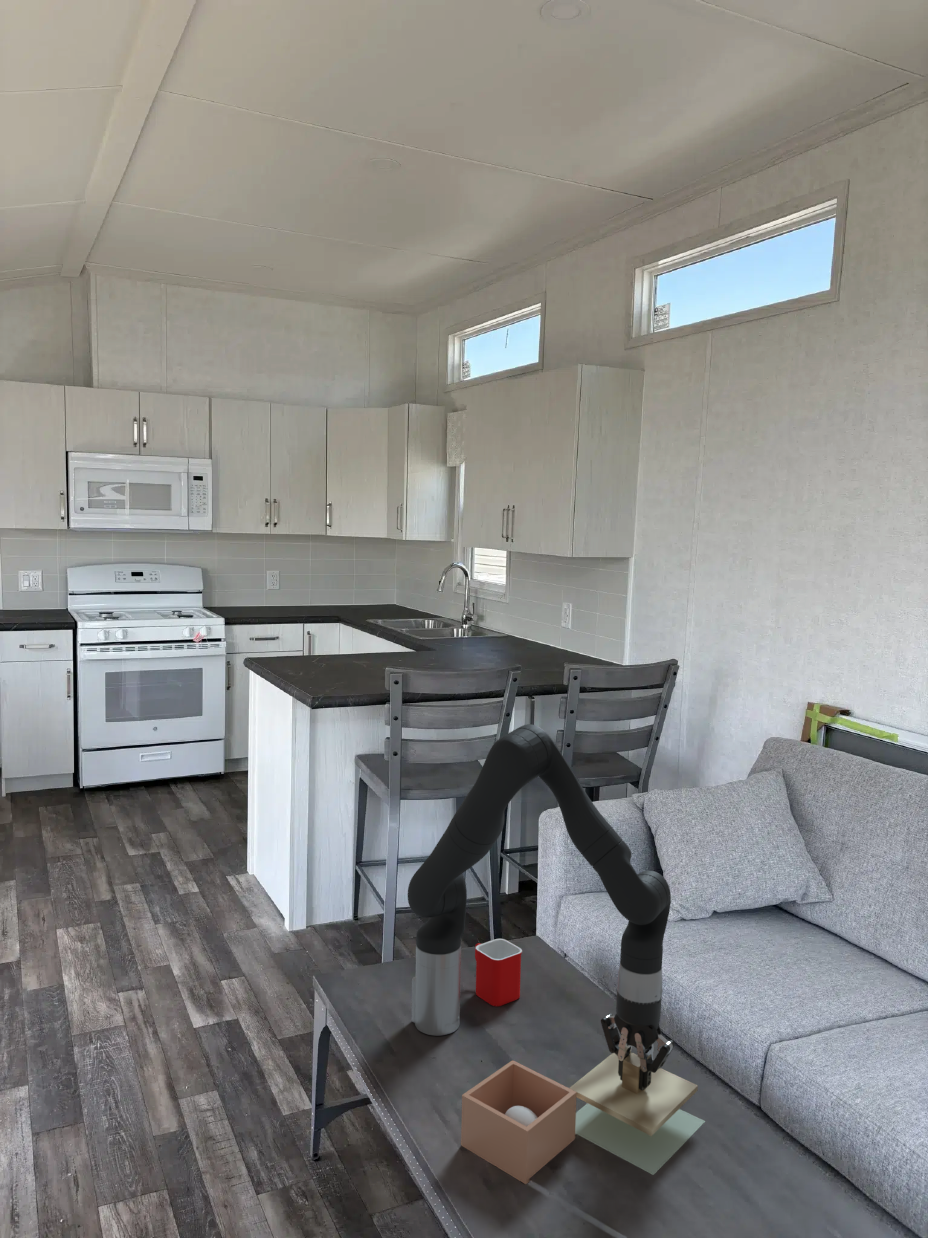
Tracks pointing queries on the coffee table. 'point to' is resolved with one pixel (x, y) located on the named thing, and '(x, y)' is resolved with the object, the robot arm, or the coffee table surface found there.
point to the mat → (636, 1136)
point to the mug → (498, 971)
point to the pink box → (508, 1138)
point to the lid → (634, 1093)
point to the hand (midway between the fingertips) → (634, 1083)
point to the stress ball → (521, 1115)
